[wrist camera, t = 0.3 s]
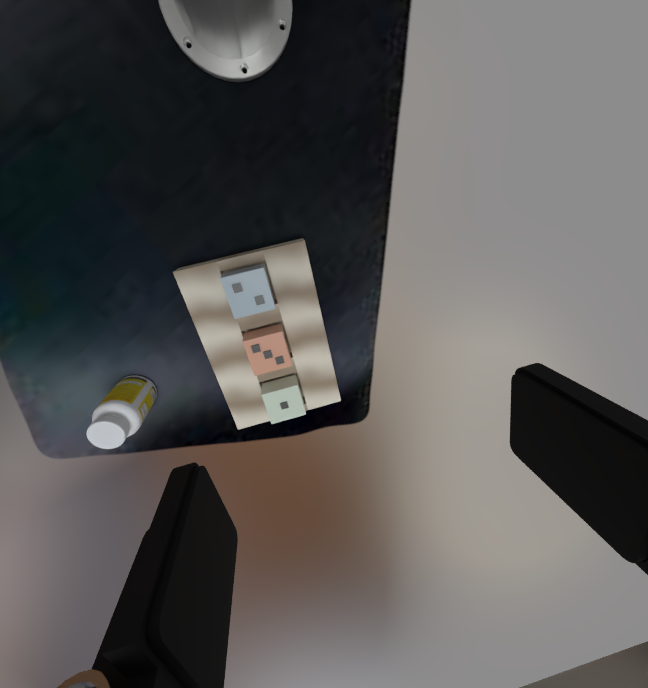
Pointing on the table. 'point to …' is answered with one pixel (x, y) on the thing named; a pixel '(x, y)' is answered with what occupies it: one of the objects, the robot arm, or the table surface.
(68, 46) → the table surface
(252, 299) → the key two dots
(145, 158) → the table surface
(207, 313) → the key panel
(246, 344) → the key three dots
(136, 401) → the supplement bottle
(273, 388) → the key one dot
